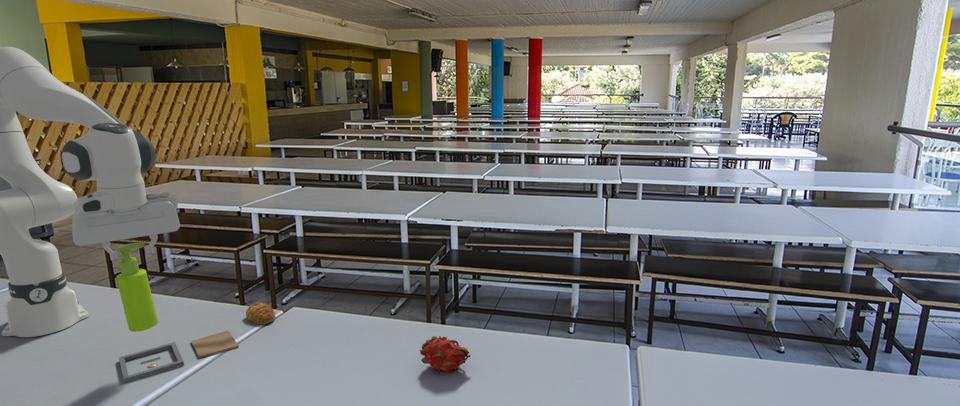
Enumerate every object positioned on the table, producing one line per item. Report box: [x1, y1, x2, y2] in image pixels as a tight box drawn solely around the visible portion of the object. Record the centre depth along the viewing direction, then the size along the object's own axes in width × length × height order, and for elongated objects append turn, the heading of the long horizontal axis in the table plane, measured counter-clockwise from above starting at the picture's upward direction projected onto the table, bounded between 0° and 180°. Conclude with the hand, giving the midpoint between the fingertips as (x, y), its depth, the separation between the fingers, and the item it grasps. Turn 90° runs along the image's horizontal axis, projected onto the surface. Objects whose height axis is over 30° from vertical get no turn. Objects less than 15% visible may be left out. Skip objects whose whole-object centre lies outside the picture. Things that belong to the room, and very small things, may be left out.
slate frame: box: [118, 341, 185, 384], centre depth 127 cm, size 12×12×1 cm
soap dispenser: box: [115, 242, 159, 333], centre depth 122 cm, size 6×7×20 cm
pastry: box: [245, 301, 276, 325], centre depth 150 cm, size 9×7×4 cm
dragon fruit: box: [419, 335, 471, 374], centre depth 123 cm, size 8×8×12 cm
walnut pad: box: [190, 330, 239, 359], centre depth 136 cm, size 10×9×1 cm
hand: (132, 256), depth 121 cm, fingers closed on soap dispenser, 5 cm apart
